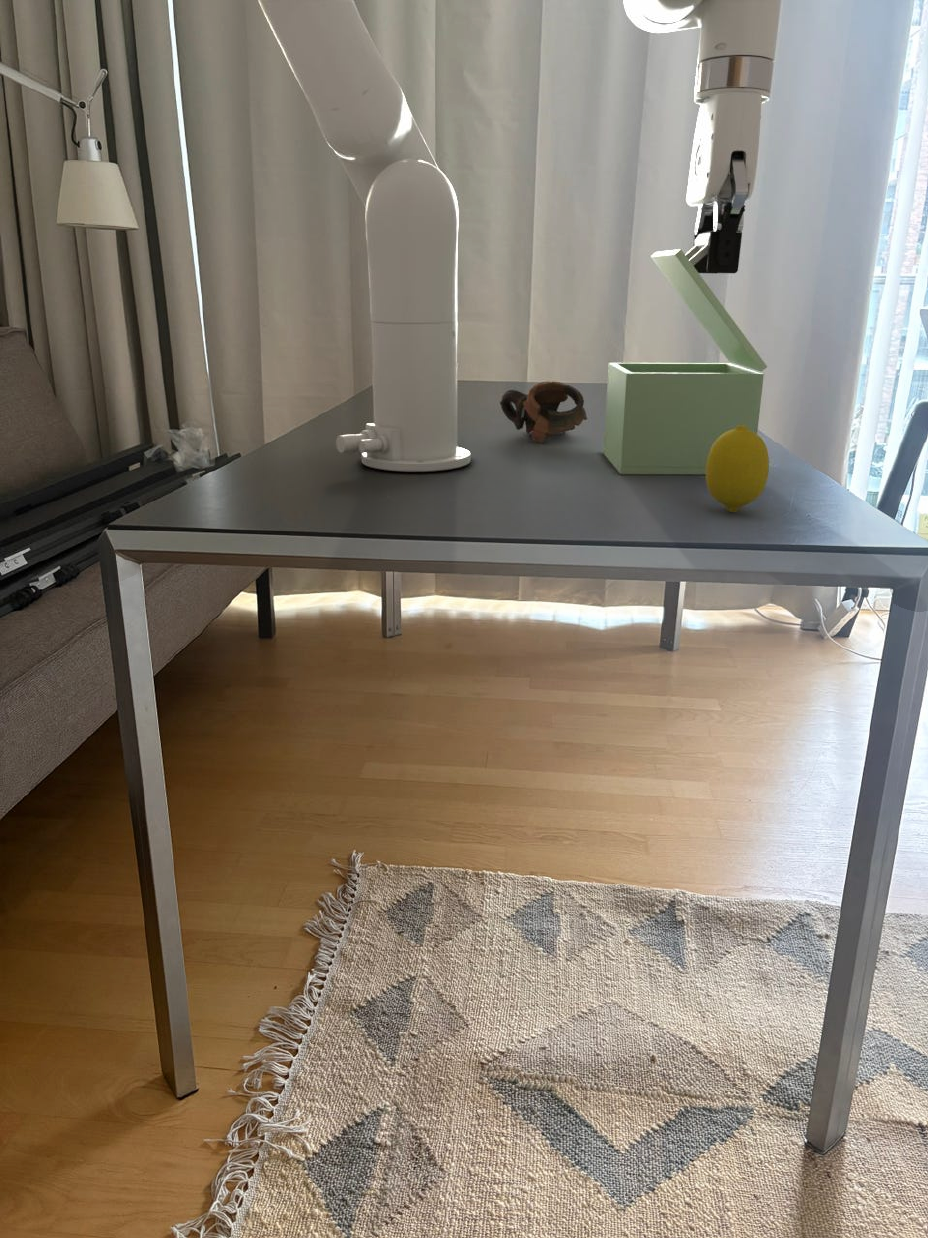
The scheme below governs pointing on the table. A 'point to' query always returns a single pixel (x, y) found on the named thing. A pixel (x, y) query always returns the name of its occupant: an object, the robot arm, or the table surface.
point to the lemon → (737, 468)
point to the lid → (706, 302)
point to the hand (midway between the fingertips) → (713, 271)
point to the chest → (675, 413)
